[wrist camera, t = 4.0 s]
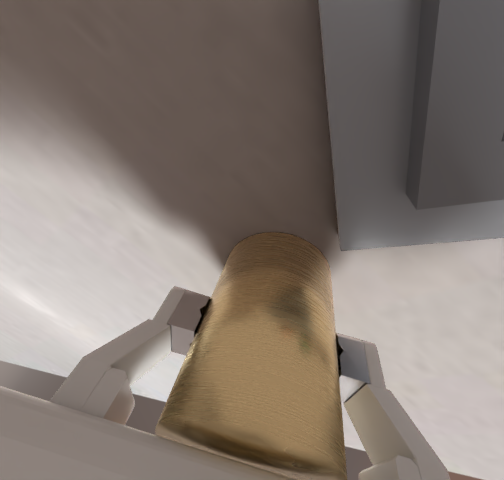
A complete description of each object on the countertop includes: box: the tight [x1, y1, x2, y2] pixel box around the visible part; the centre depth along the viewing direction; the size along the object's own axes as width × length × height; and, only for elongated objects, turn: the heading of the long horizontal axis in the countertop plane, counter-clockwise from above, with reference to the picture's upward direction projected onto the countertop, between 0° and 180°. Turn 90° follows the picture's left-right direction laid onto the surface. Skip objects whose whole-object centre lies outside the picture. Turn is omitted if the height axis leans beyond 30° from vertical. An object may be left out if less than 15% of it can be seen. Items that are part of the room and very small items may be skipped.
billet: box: [155, 232, 347, 480], centre depth 9 cm, size 5×5×7 cm
